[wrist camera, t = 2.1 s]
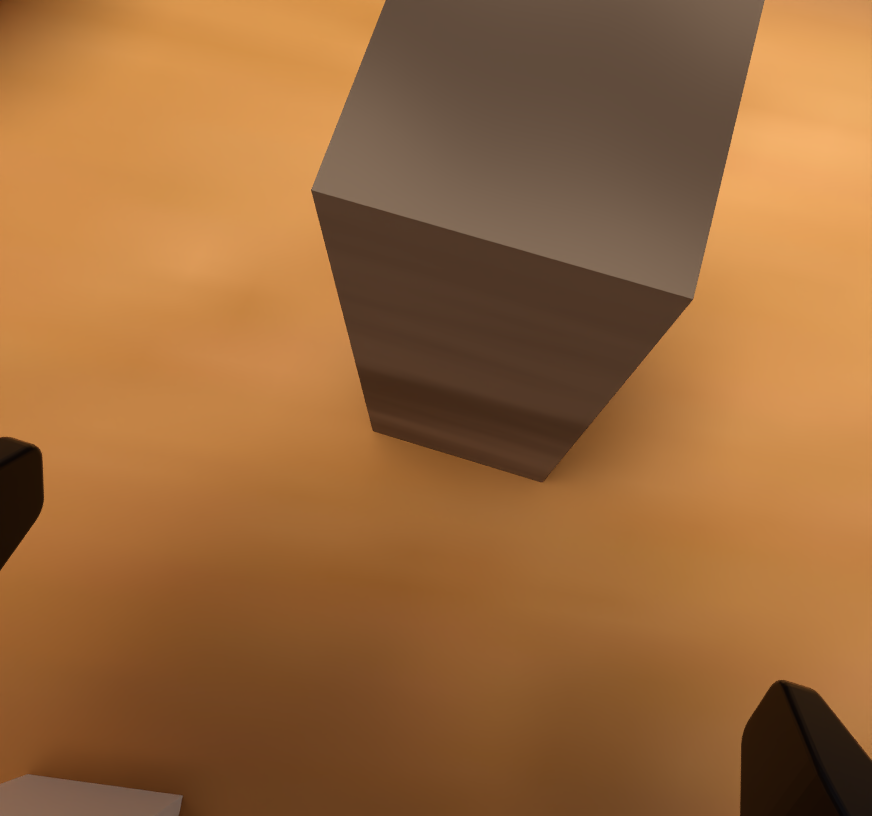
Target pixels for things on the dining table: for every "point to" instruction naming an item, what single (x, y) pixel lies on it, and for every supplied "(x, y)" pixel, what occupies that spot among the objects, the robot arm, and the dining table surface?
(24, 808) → the ceramic cube
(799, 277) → the dining table surface
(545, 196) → the walnut block
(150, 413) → the dining table surface
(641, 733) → the dining table surface
